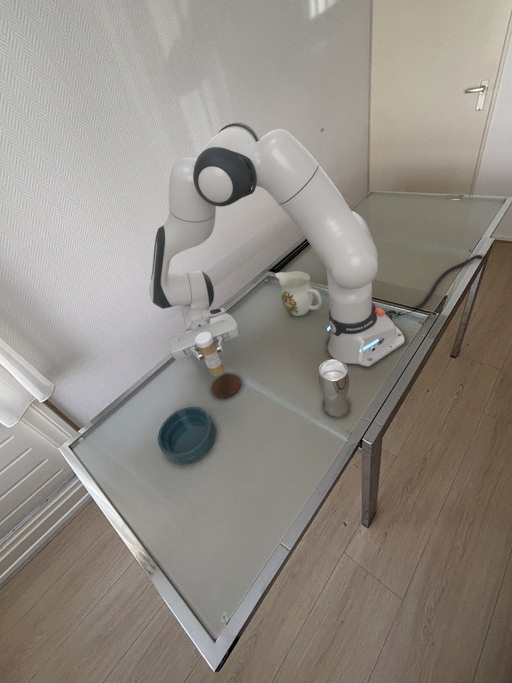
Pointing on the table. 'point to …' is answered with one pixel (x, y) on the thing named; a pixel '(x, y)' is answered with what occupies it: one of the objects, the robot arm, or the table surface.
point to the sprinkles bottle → (210, 353)
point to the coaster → (226, 386)
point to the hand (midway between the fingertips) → (210, 354)
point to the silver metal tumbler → (334, 386)
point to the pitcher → (297, 292)
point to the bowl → (187, 435)
